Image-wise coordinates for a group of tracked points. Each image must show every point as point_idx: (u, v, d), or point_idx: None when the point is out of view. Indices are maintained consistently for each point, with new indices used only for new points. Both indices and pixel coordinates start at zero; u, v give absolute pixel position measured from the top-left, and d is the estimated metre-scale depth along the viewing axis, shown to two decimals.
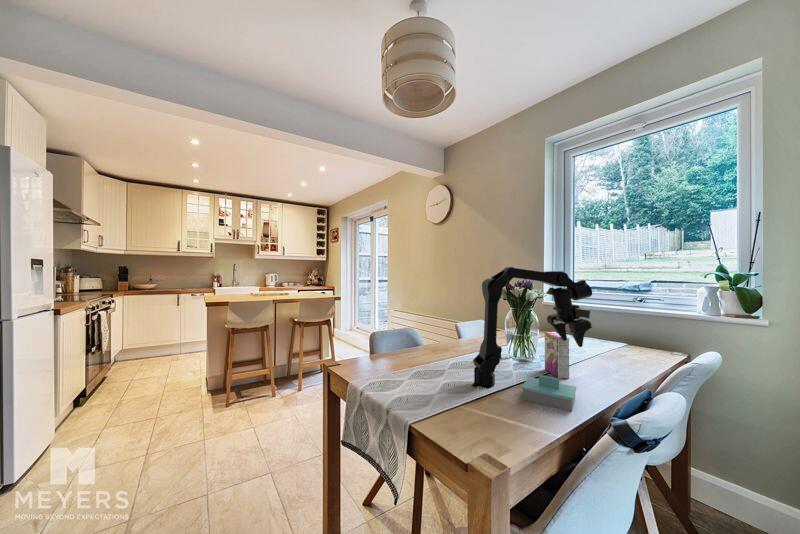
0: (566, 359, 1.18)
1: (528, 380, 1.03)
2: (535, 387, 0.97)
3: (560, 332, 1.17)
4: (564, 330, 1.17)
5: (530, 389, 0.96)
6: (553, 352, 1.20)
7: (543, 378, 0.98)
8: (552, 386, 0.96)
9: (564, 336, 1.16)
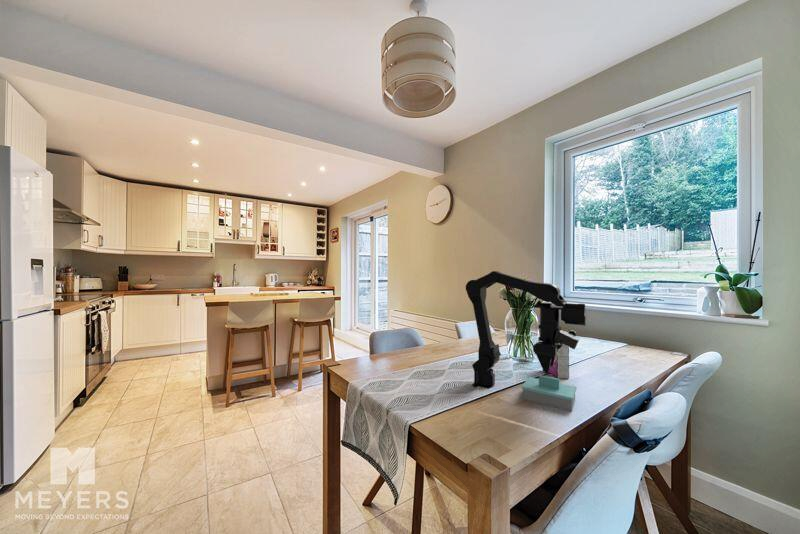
0: (566, 359, 1.18)
1: (528, 380, 1.03)
2: (535, 387, 0.97)
3: None
4: None
5: (530, 389, 0.96)
6: None
7: (543, 378, 0.98)
8: (552, 386, 0.96)
9: (551, 360, 1.01)
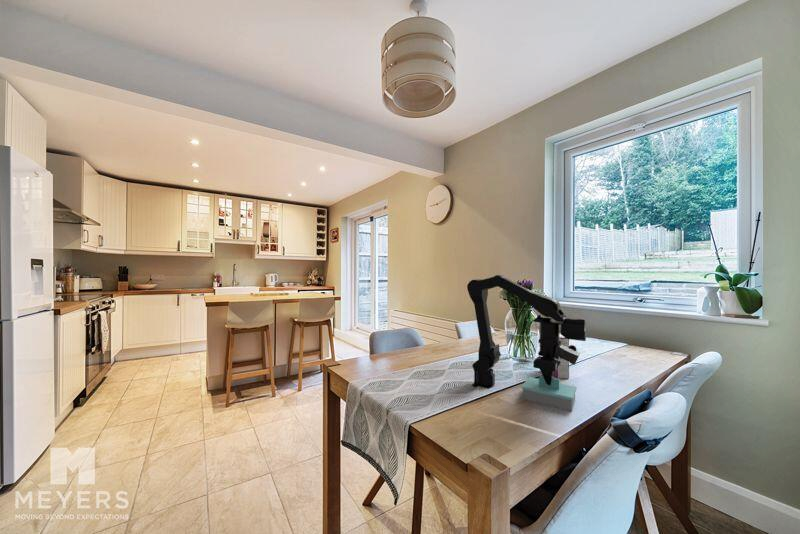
0: None
1: (528, 380, 1.03)
2: (535, 387, 0.97)
3: None
4: None
5: (530, 389, 0.96)
6: None
7: (543, 378, 0.98)
8: (552, 386, 0.96)
9: None
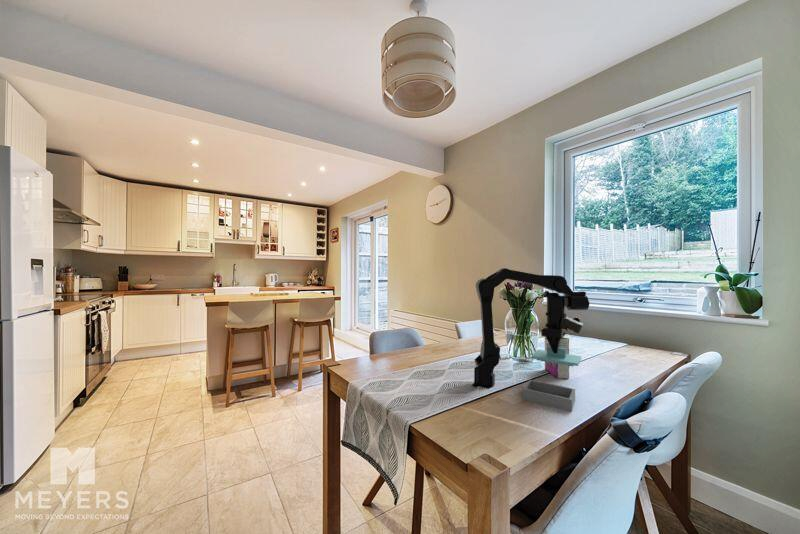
0: None
1: (537, 351, 1.13)
2: (543, 356, 1.07)
3: None
4: None
5: (539, 358, 1.06)
6: None
7: None
8: (559, 355, 1.06)
9: None
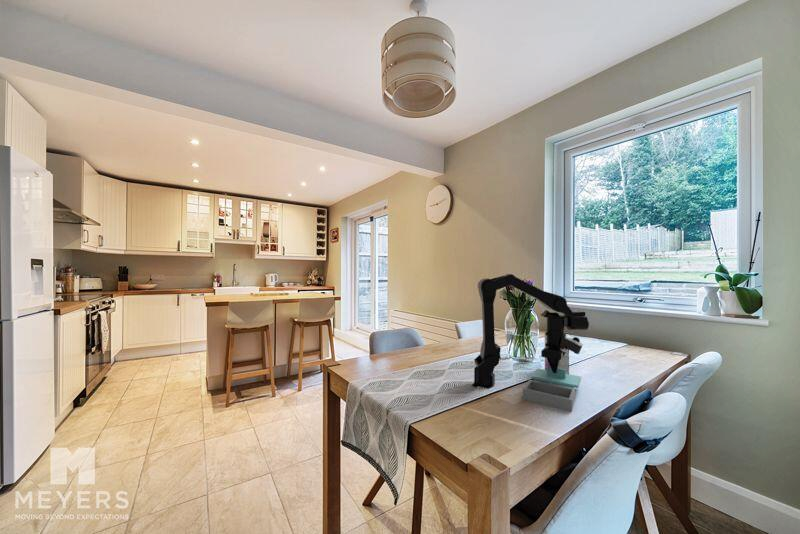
0: (566, 359, 1.18)
1: (537, 371, 1.13)
2: (543, 377, 1.07)
3: None
4: None
5: (539, 378, 1.06)
6: None
7: (551, 369, 1.08)
8: (559, 376, 1.07)
9: None
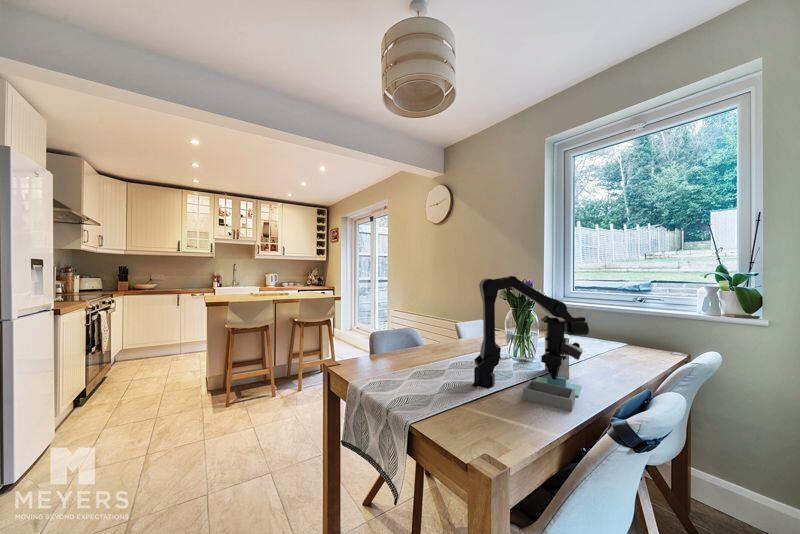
0: (566, 359, 1.18)
1: (537, 379, 1.13)
2: None
3: None
4: None
5: None
6: None
7: (551, 378, 1.08)
8: (559, 385, 1.07)
9: None
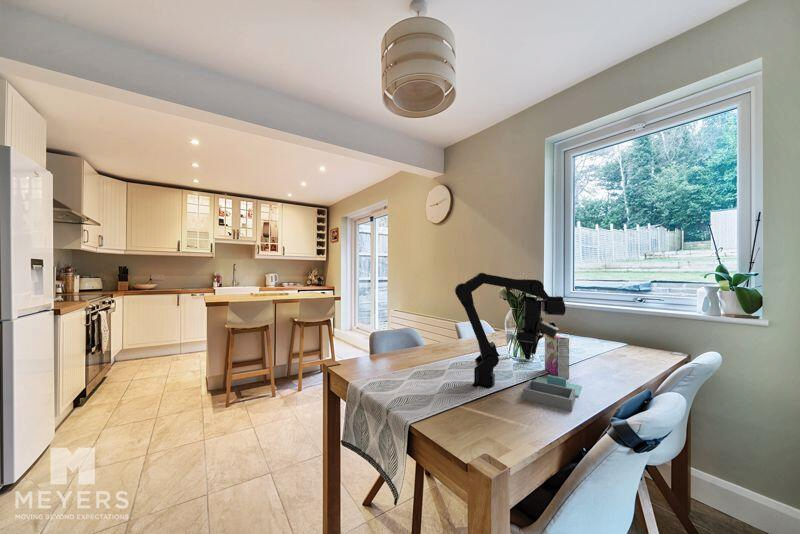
0: (566, 359, 1.18)
1: (537, 379, 1.13)
2: None
3: None
4: (535, 343, 1.11)
5: None
6: (553, 352, 1.20)
7: (551, 378, 1.08)
8: (559, 385, 1.07)
9: (533, 349, 1.12)
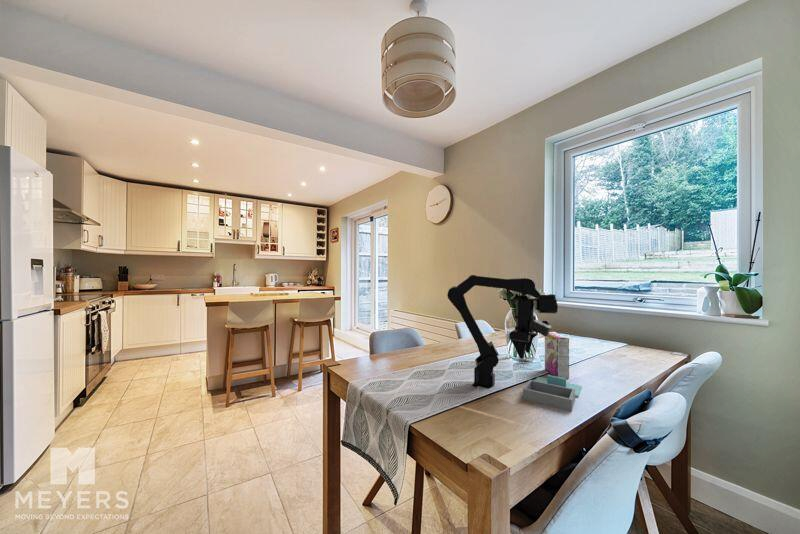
0: (566, 359, 1.18)
1: (537, 379, 1.13)
2: None
3: None
4: (529, 342, 1.11)
5: None
6: (553, 352, 1.20)
7: (551, 378, 1.08)
8: (559, 385, 1.07)
9: (527, 348, 1.11)
